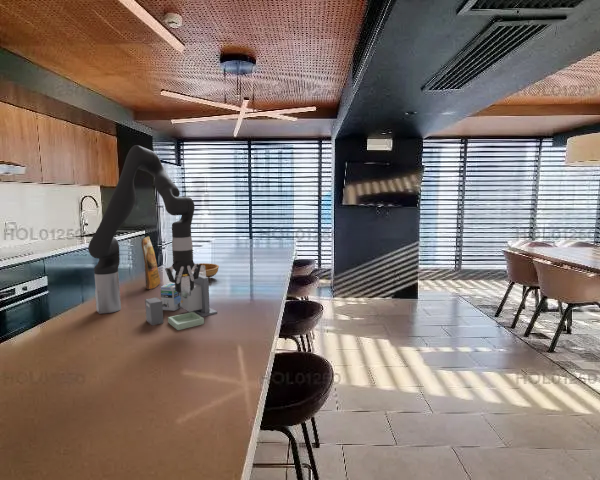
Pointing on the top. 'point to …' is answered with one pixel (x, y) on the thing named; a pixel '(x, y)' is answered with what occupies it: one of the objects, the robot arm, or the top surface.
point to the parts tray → (185, 320)
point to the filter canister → (185, 286)
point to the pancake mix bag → (150, 264)
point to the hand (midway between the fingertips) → (184, 291)
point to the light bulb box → (170, 297)
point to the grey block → (154, 311)
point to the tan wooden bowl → (210, 269)
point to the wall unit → (198, 298)
